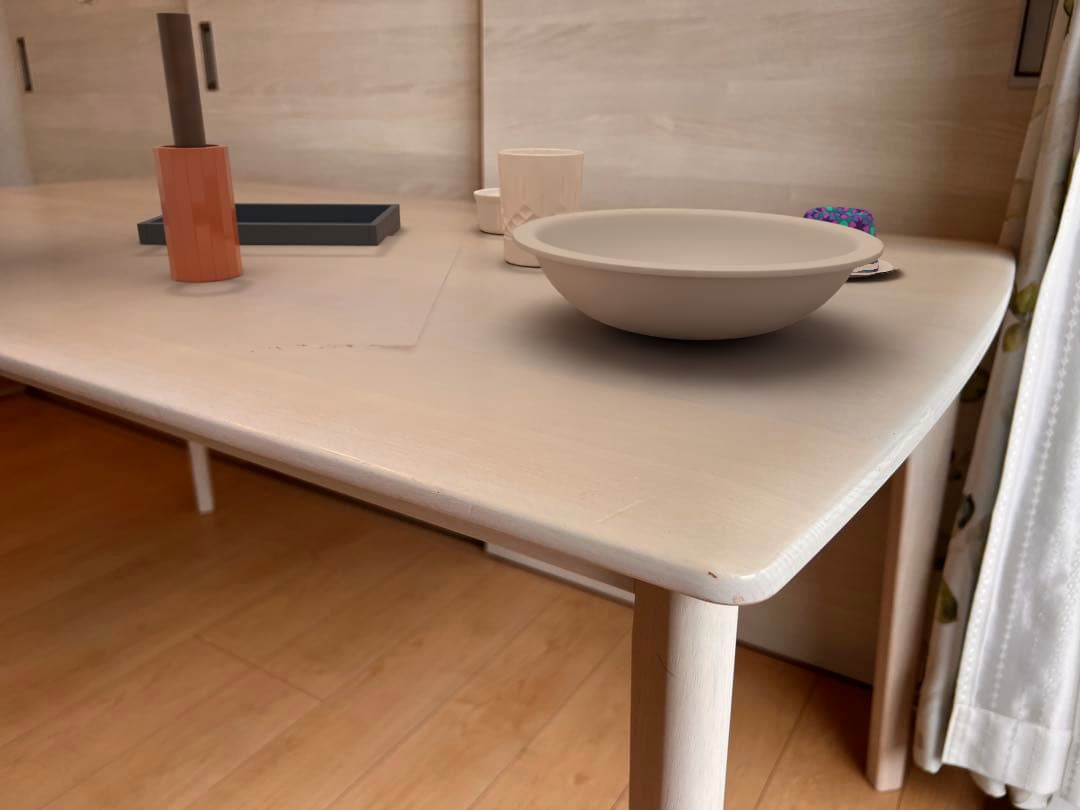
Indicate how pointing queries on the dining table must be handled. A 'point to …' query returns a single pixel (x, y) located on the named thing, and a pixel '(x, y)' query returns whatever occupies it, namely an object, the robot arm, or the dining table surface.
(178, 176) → the crock
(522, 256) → the white cup
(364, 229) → the tray
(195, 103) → the stick
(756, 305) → the soup bowl
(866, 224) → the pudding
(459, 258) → the dining table surface
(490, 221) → the ramekin
